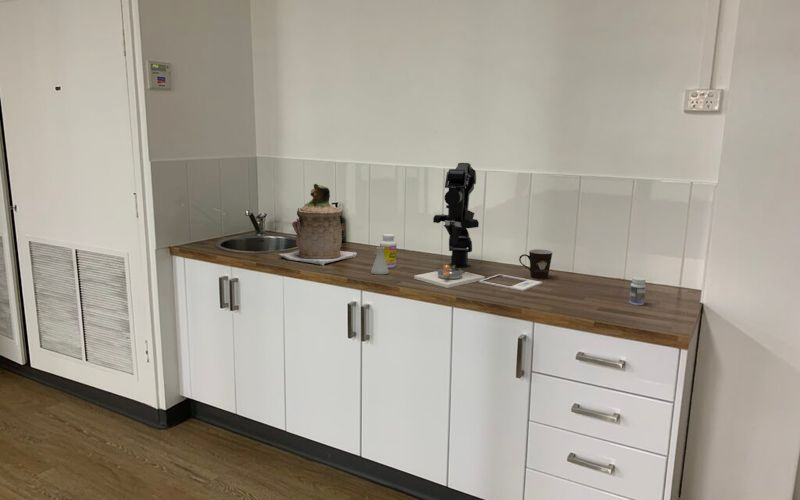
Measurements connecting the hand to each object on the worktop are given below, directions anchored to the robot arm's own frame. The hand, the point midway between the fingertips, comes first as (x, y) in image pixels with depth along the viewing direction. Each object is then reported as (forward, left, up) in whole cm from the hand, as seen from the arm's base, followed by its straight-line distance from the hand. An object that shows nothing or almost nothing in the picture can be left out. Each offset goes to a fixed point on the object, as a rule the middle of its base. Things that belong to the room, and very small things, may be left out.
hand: (454, 243), depth 235 cm
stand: (+7, +4, -12) cm, 15 cm away
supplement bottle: (+11, -26, -12) cm, 31 cm away
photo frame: (-7, +22, -13) cm, 26 cm away
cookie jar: (+24, -57, -12) cm, 63 cm away
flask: (+21, -19, -12) cm, 31 cm away
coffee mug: (-22, +22, -12) cm, 33 cm away
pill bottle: (-18, +65, -12) cm, 69 cm away
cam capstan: (+8, +6, -11) cm, 15 cm away
